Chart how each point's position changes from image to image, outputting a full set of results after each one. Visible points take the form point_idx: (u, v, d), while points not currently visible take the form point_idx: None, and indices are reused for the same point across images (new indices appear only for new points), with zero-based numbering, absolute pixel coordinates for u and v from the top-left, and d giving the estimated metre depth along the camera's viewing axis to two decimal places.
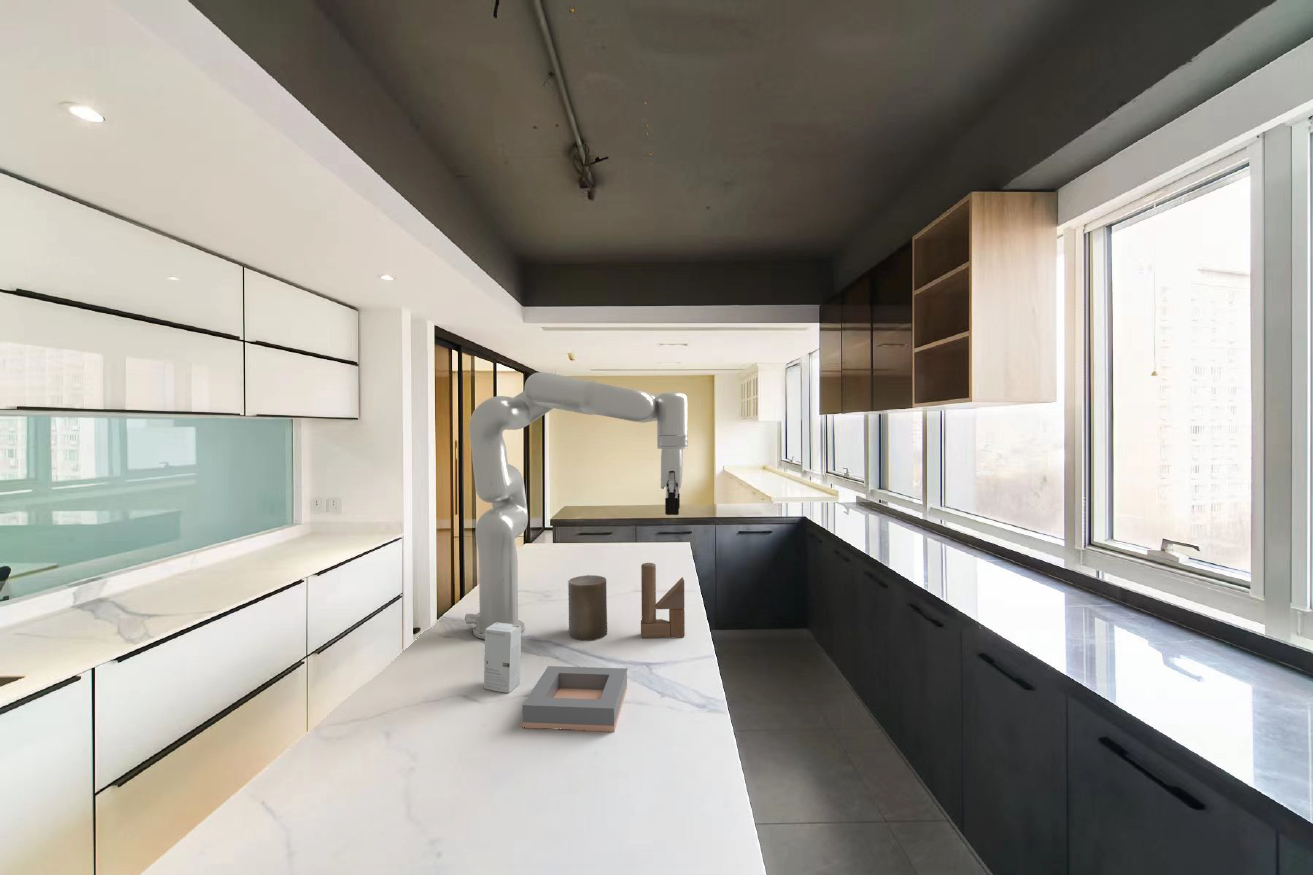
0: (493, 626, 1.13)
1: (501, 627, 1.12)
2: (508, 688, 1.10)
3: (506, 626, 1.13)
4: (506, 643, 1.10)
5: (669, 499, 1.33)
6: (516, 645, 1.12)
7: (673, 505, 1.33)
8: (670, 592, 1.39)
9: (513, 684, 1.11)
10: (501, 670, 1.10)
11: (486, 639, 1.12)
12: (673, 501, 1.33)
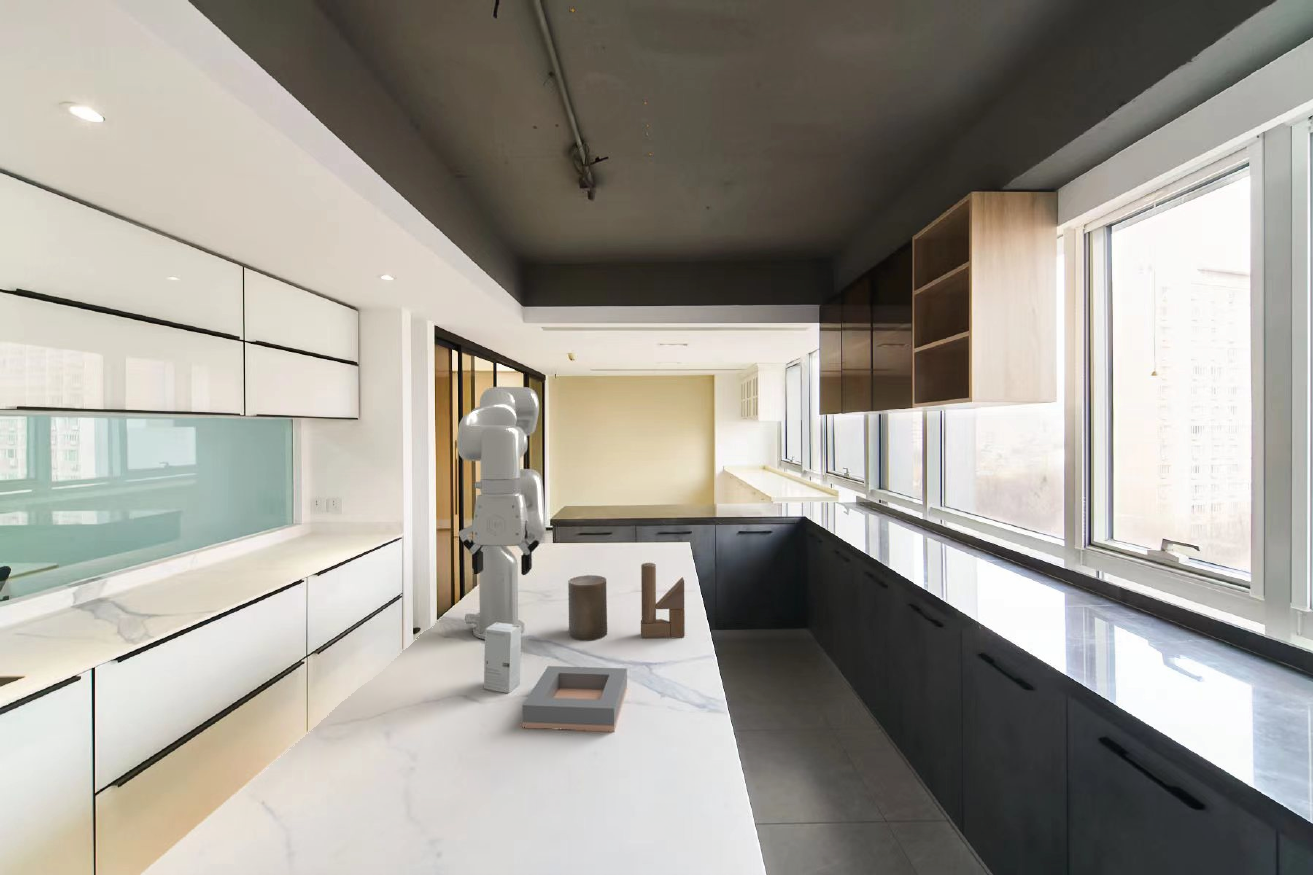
0: (493, 626, 1.13)
1: (501, 627, 1.12)
2: (508, 688, 1.10)
3: (506, 626, 1.13)
4: (506, 643, 1.10)
5: (529, 555, 1.11)
6: (516, 645, 1.12)
7: (531, 561, 1.12)
8: (670, 592, 1.39)
9: (513, 684, 1.11)
10: (501, 670, 1.10)
11: (486, 639, 1.12)
12: (531, 556, 1.12)
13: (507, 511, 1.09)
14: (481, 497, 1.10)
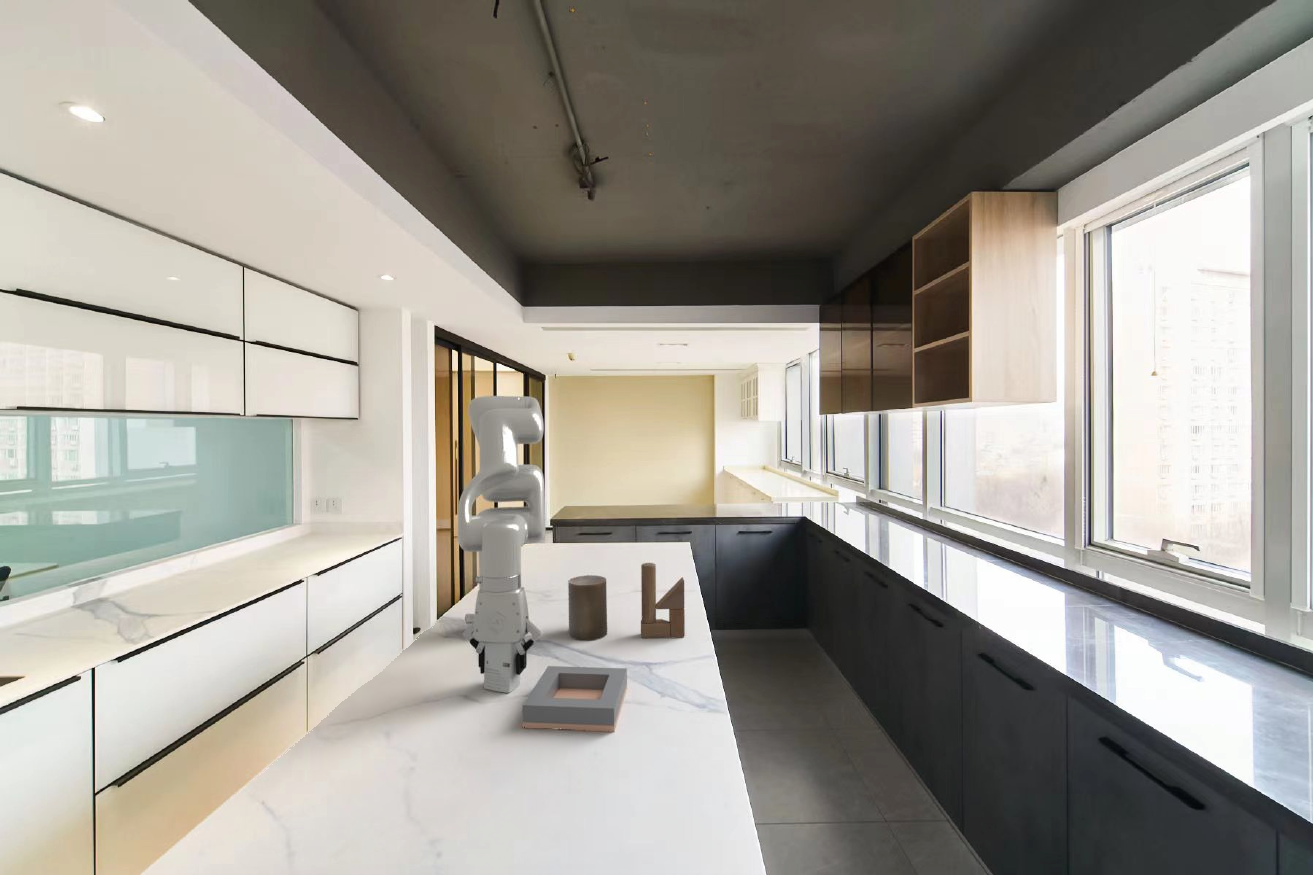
0: None
1: None
2: (508, 688, 1.10)
3: None
4: (507, 643, 1.10)
5: (524, 654, 1.12)
6: None
7: (526, 659, 1.13)
8: (670, 592, 1.39)
9: (513, 684, 1.11)
10: (501, 670, 1.10)
11: None
12: (526, 654, 1.13)
13: (508, 608, 1.10)
14: (482, 594, 1.10)
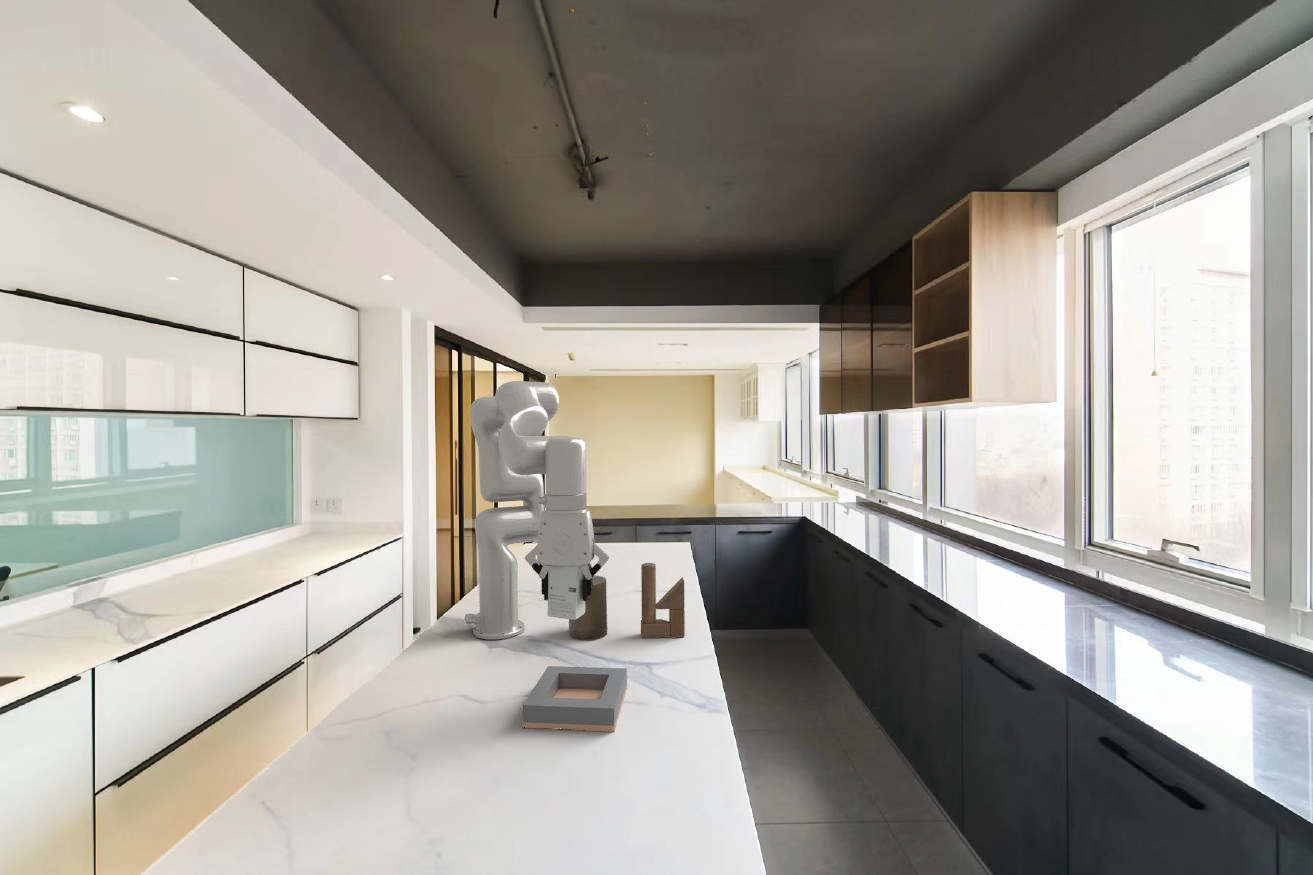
0: None
1: None
2: (575, 615, 1.02)
3: None
4: (573, 566, 1.02)
5: (590, 579, 1.04)
6: None
7: (592, 586, 1.05)
8: (670, 592, 1.39)
9: (579, 611, 1.03)
10: (566, 596, 1.03)
11: None
12: (592, 580, 1.05)
13: (574, 529, 1.02)
14: (546, 514, 1.03)
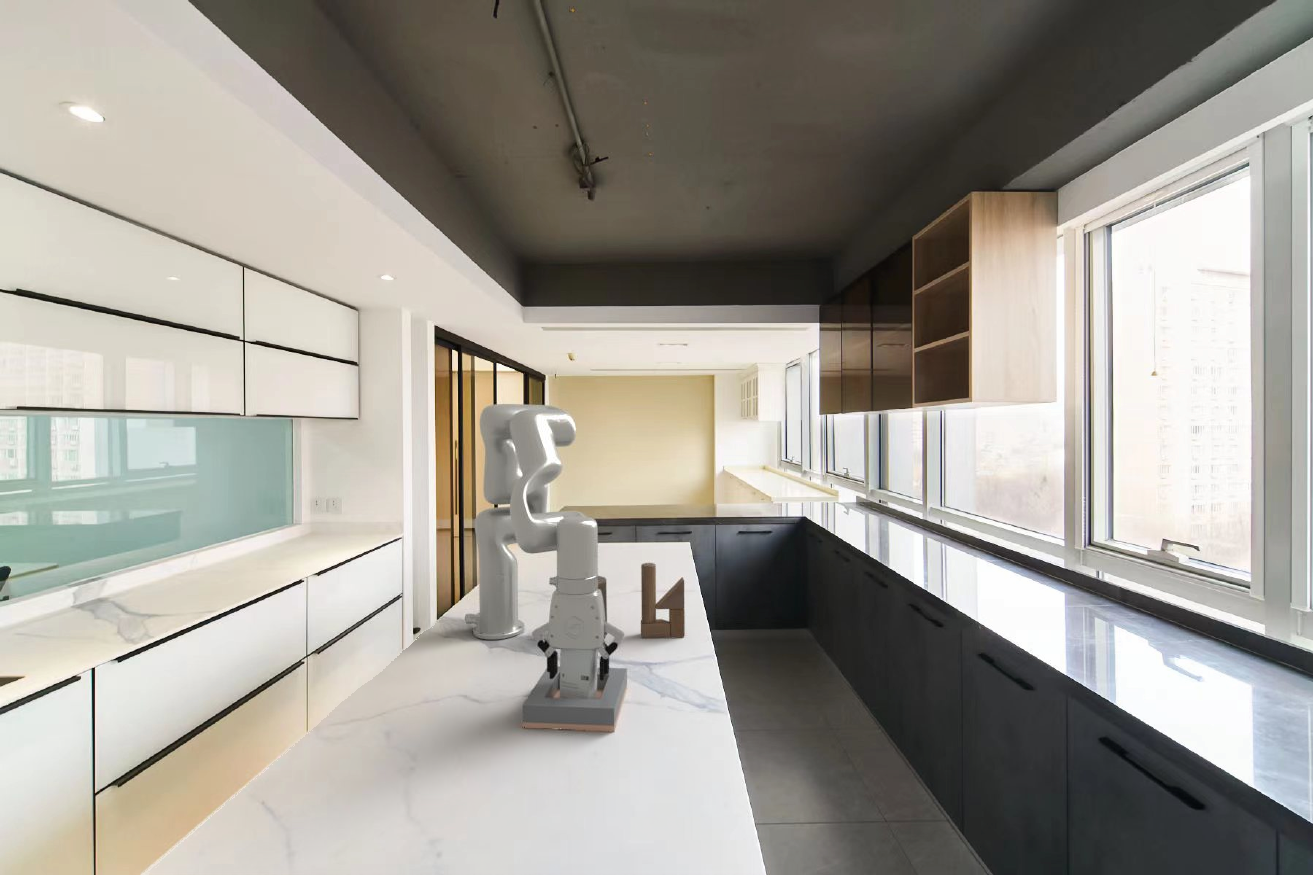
0: None
1: None
2: None
3: None
4: (585, 654, 1.02)
5: (607, 658, 1.03)
6: (594, 656, 1.04)
7: (608, 664, 1.04)
8: (670, 592, 1.39)
9: (591, 698, 1.03)
10: (579, 684, 1.02)
11: (562, 650, 1.03)
12: (608, 658, 1.04)
13: (586, 612, 1.01)
14: (557, 596, 1.02)
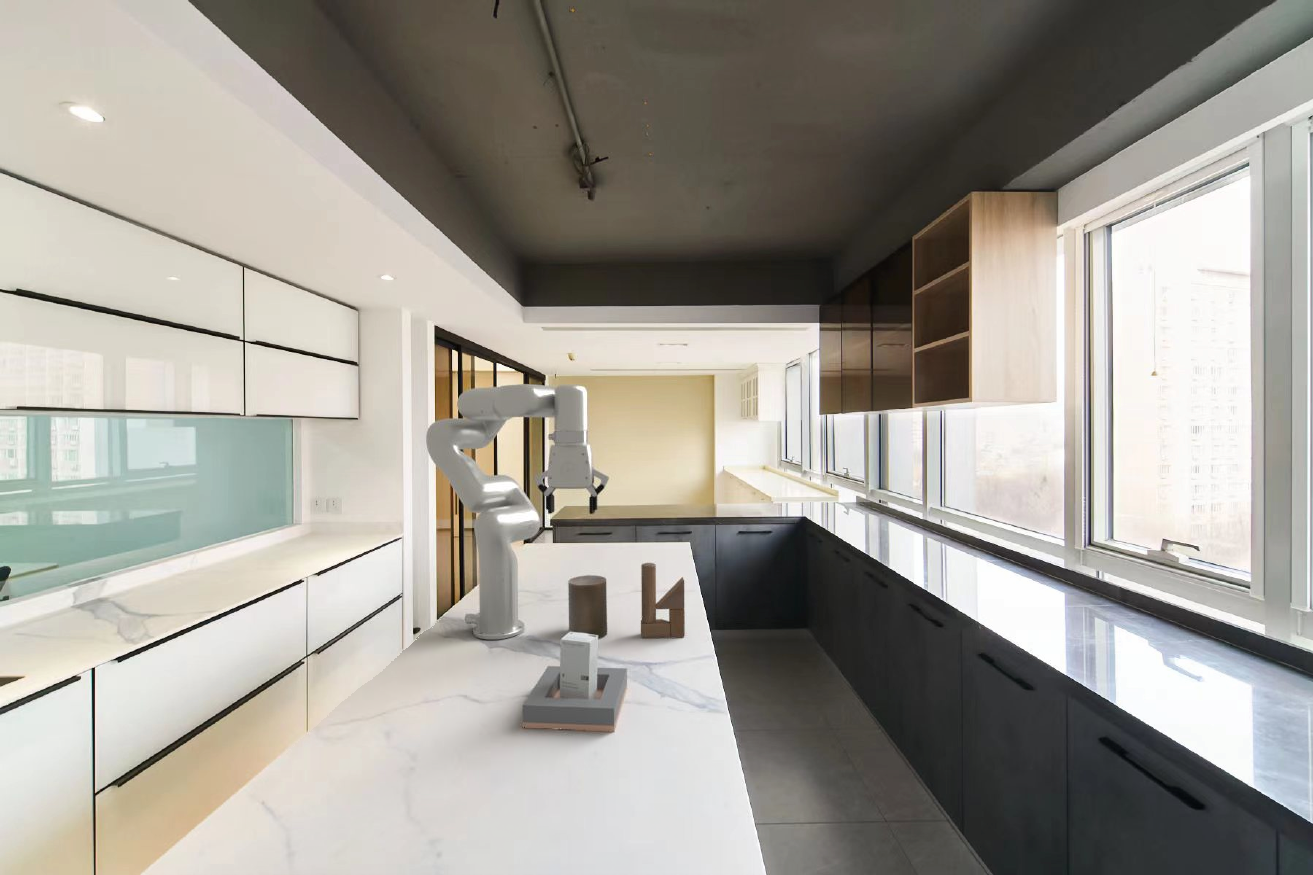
0: (568, 636, 1.04)
1: (577, 636, 1.04)
2: None
3: (582, 636, 1.04)
4: (585, 654, 1.02)
5: (596, 497, 1.28)
6: (594, 656, 1.04)
7: None
8: (670, 592, 1.39)
9: (591, 698, 1.03)
10: (579, 684, 1.02)
11: (562, 650, 1.03)
12: None
13: (578, 458, 1.26)
14: (555, 446, 1.27)
